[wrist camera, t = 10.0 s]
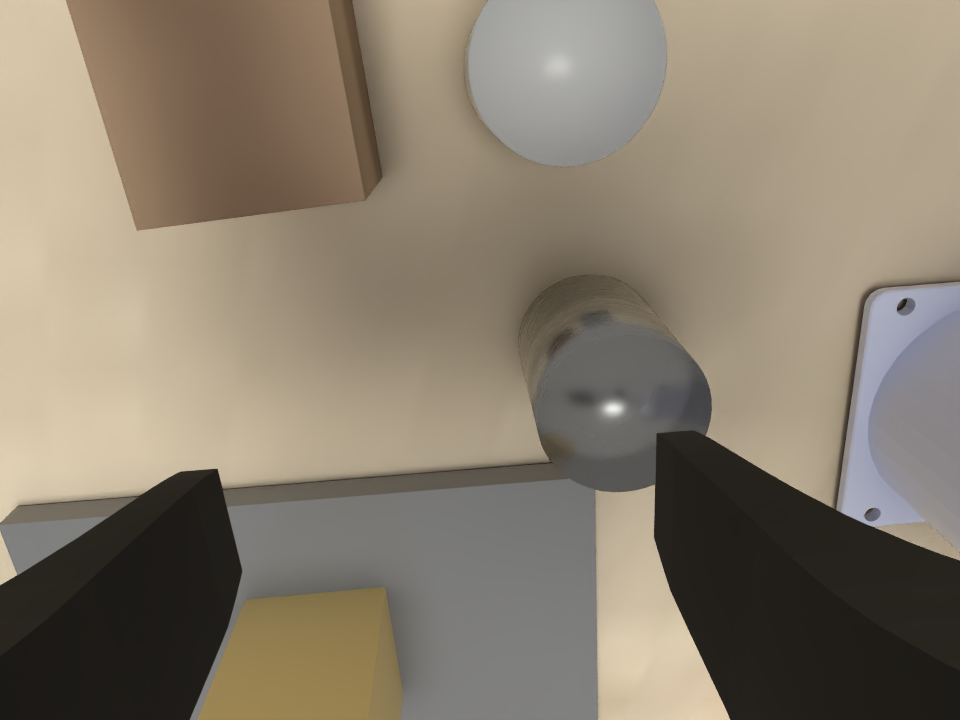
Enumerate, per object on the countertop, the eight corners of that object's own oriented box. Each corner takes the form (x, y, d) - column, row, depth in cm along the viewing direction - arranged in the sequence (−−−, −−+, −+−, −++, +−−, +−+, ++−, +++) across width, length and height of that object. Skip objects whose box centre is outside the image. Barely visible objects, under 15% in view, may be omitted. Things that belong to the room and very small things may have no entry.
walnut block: (346, -34, 17) (316, -66, 13) (382, 176, 19) (364, 200, 15) (143, -6, 17) (56, -29, 13) (199, 200, 19) (137, 230, 15)
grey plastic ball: (628, -17, 17) (679, -45, 14) (612, 152, 19) (654, 169, 15) (465, -24, 17) (472, -54, 13) (462, 148, 19) (467, 164, 15)
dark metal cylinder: (655, 269, 20) (715, 327, 15) (652, 396, 22) (707, 484, 17) (514, 280, 20) (533, 342, 15) (522, 407, 22) (541, 498, 17)
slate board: (588, 460, 22) (594, 476, 21) (593, 735, 27) (598, 760, 26) (17, 506, 22) (-2, 525, 21) (118, 775, 27) (106, 800, 26)
